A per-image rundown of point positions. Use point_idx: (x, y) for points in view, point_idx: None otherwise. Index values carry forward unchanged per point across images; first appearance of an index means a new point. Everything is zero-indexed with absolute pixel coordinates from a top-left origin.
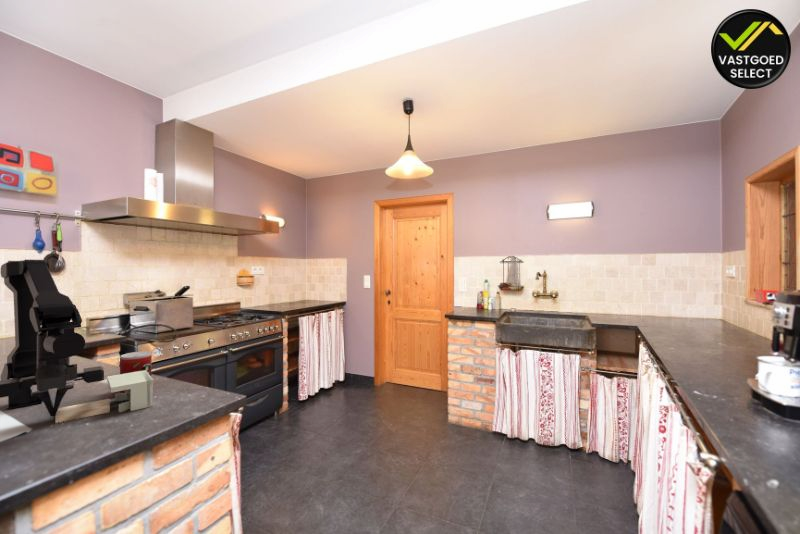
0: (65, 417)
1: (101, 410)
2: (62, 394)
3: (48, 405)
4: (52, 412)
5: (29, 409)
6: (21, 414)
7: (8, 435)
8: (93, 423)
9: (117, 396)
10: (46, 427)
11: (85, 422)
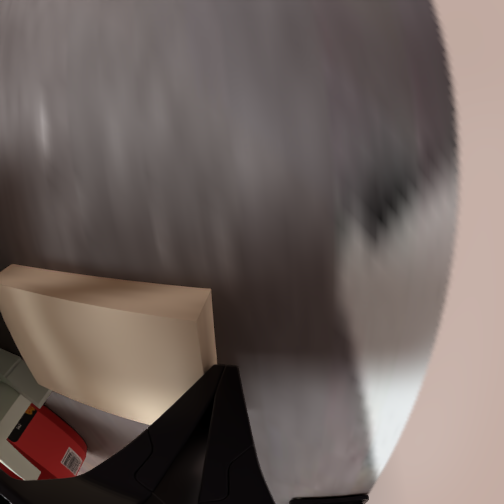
0: (148, 297)
1: (19, 276)
2: (100, 480)
3: (231, 436)
4: (221, 382)
5: (322, 484)
6: (348, 467)
7: (447, 247)
8: (25, 116)
9: (36, 391)
10: (254, 235)
11: (54, 163)
